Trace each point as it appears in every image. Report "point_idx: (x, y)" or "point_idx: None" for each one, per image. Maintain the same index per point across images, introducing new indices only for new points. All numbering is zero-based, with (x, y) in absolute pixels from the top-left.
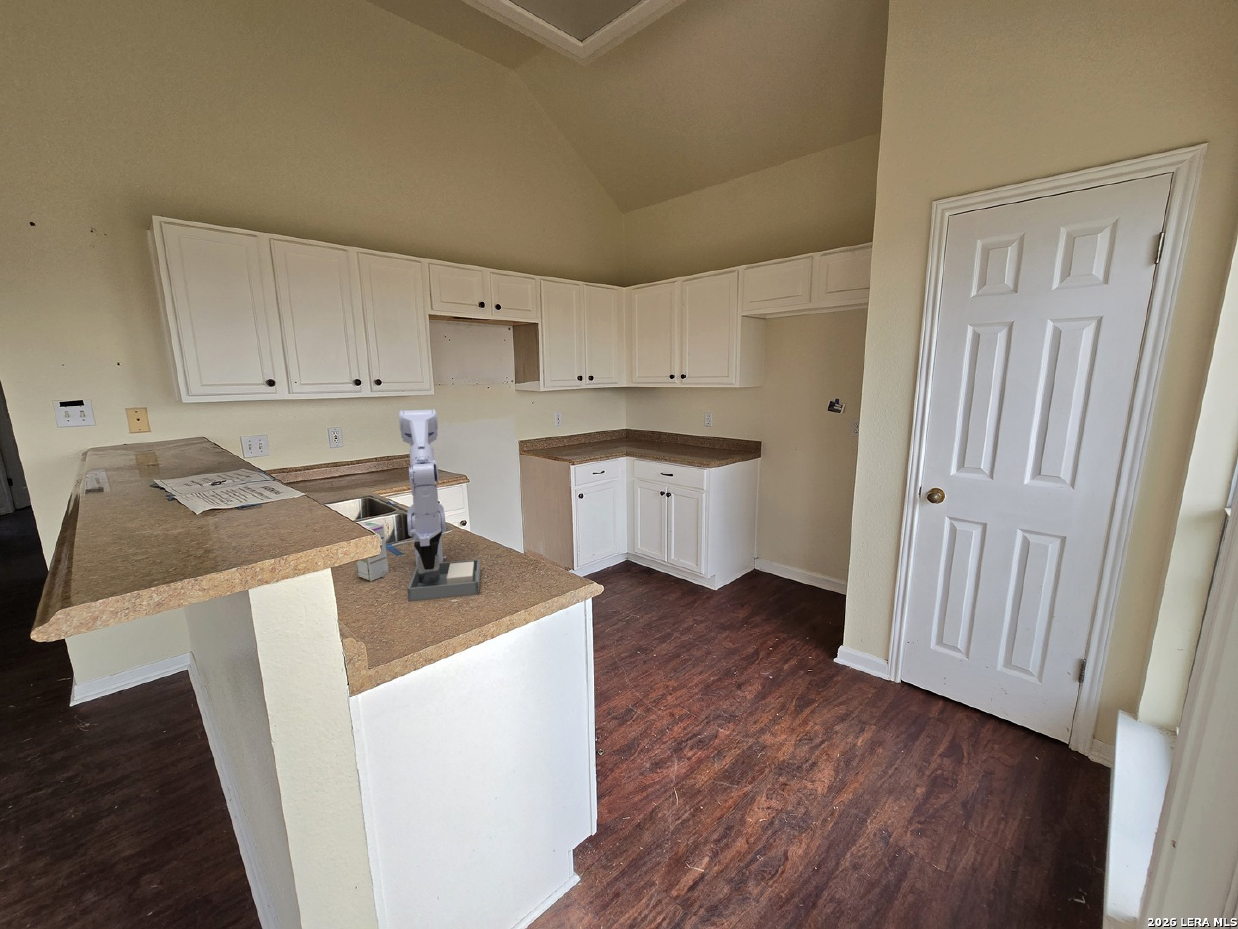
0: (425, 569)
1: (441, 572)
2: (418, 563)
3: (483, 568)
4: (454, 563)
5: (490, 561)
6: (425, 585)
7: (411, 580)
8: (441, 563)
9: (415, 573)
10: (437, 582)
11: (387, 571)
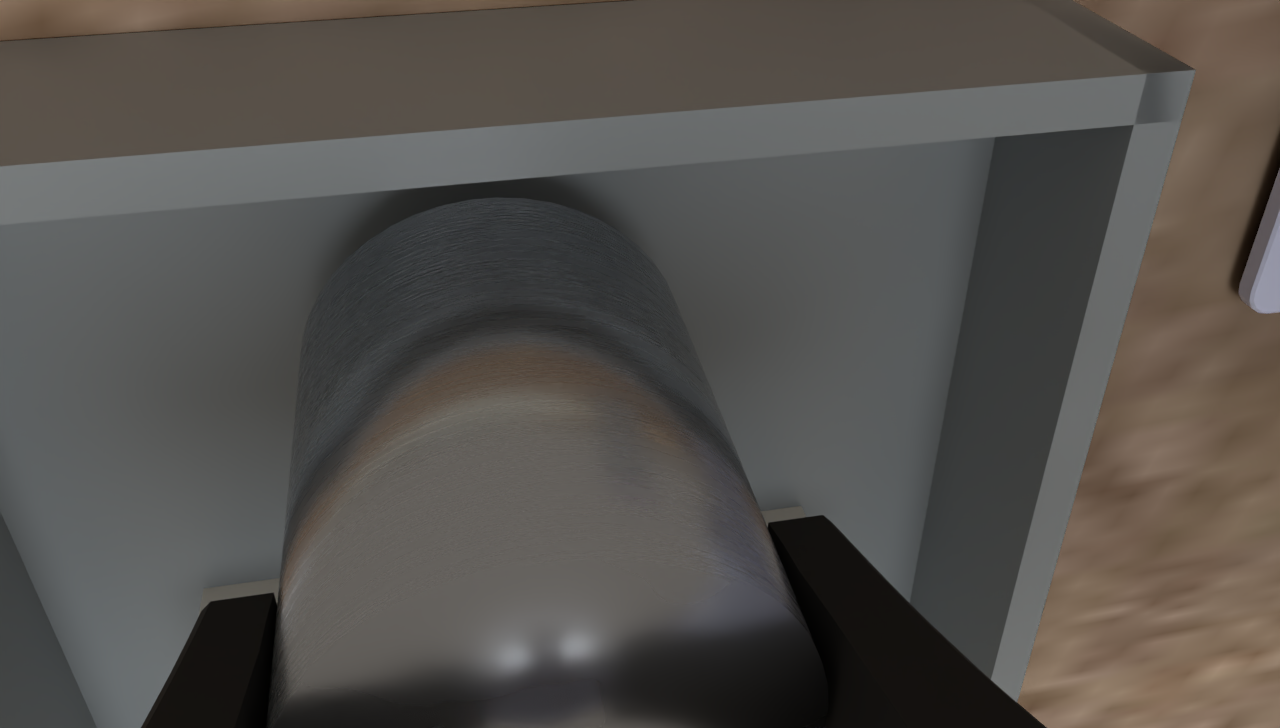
0: (201, 618)
1: (963, 387)
2: (395, 514)
3: (1031, 701)
4: None
5: (1205, 717)
6: None
7: (200, 170)
8: (1036, 495)
9: (649, 159)
10: None
11: None
